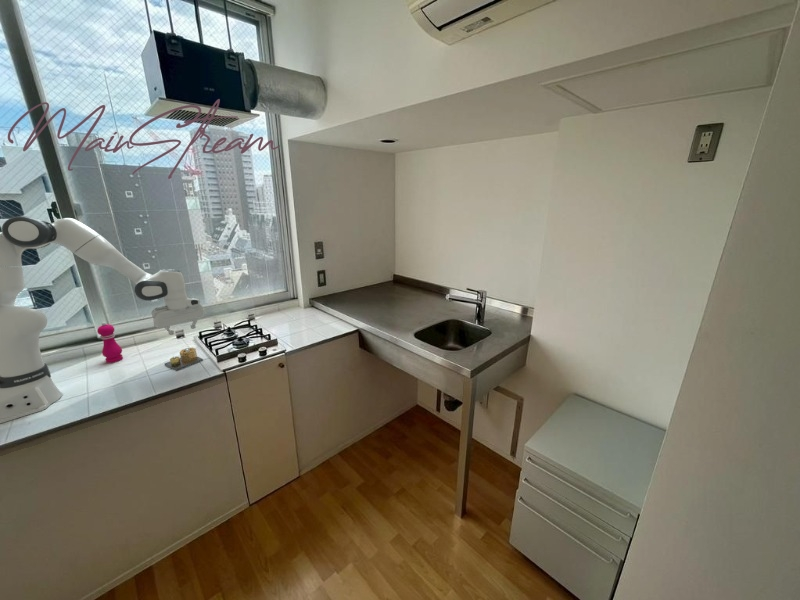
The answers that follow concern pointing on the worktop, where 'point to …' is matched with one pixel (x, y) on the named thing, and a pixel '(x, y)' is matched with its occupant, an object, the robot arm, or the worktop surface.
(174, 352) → the worktop surface
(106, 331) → the pepper mill
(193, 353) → the planet gear
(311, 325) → the worktop surface
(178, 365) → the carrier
